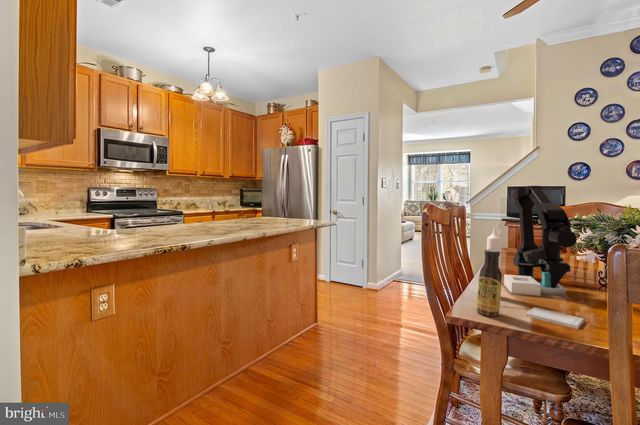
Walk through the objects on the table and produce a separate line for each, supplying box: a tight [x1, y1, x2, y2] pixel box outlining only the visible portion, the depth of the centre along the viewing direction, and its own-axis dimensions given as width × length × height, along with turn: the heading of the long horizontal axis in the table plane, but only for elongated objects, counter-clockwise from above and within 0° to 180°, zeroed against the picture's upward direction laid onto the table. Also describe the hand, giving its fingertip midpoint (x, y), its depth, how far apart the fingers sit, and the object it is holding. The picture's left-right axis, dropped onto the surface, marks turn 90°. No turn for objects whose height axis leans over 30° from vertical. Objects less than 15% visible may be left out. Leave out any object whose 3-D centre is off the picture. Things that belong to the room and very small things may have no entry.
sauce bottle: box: [476, 248, 503, 317], centre depth 99 cm, size 7×6×20 cm
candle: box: [486, 228, 503, 272], centre depth 112 cm, size 7×7×25 cm
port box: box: [503, 274, 541, 296], centre depth 121 cm, size 12×9×4 cm
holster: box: [537, 281, 567, 296], centre depth 118 cm, size 7×8×2 cm
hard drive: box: [525, 306, 585, 330], centre depth 95 cm, size 2×8×12 cm
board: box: [501, 282, 573, 301], centre depth 120 cm, size 16×18×1 cm
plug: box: [541, 272, 559, 287], centre depth 118 cm, size 3×4×7 cm
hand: (549, 285), depth 118 cm, fingers open, 7 cm apart
